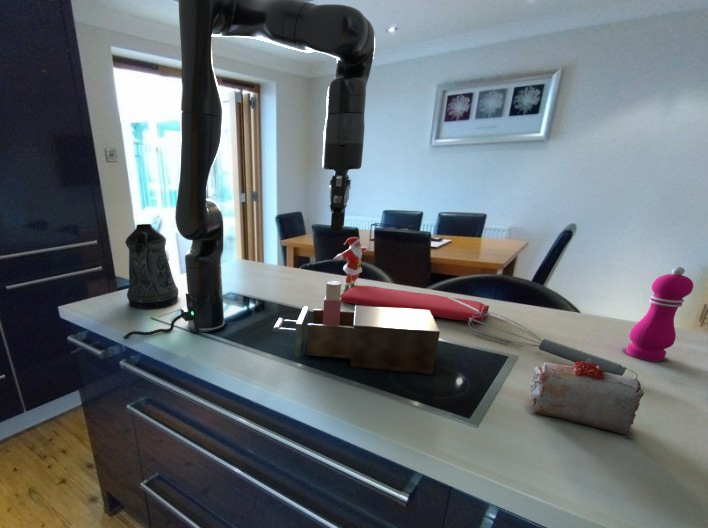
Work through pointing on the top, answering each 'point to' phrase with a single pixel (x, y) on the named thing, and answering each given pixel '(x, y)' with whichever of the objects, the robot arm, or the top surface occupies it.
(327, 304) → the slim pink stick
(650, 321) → the pepper mill
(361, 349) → the cabinet
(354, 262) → the santa figurine
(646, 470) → the top surface
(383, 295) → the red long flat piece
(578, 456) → the top surface
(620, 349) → the top surface
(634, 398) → the food item
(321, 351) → the drawer
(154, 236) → the beer stein
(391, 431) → the top surface
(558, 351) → the kitchen whisk
